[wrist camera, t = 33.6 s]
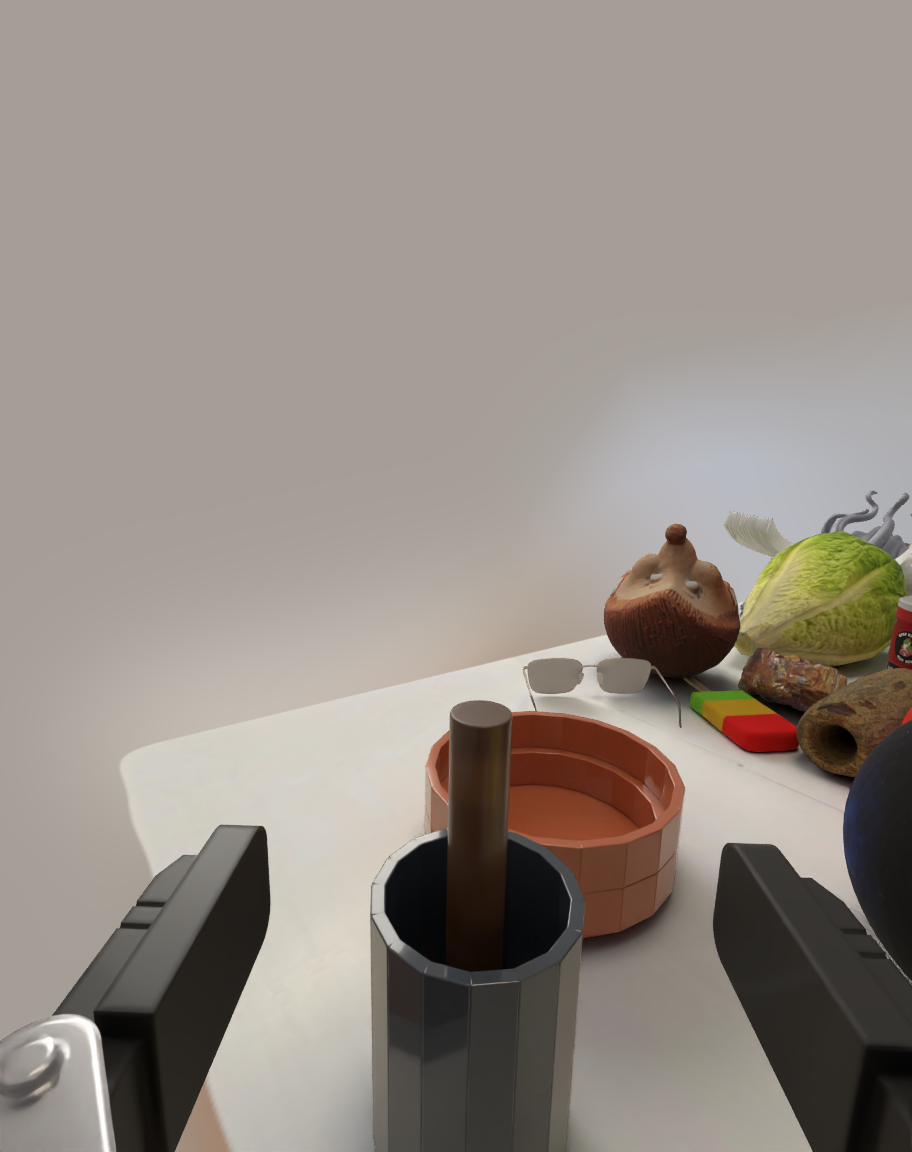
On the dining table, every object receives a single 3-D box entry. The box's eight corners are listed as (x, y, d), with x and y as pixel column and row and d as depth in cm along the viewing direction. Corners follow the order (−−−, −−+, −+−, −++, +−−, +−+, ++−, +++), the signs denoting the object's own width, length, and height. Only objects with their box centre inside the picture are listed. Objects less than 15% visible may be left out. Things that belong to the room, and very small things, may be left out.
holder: (609, 1167, 21) (631, 926, 19) (426, 1302, 18) (429, 1027, 15) (498, 1003, 27) (506, 807, 25) (347, 1079, 24) (341, 861, 22)
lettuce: (810, 723, 64) (698, 682, 79) (946, 632, 73) (822, 610, 87) (789, 597, 61) (675, 579, 75) (934, 516, 69) (806, 514, 83)
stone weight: (983, 713, 49) (921, 755, 54) (910, 649, 54) (857, 692, 58) (891, 759, 42) (828, 803, 46) (815, 681, 46) (763, 728, 50)
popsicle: (746, 755, 50) (748, 734, 50) (662, 686, 65) (663, 669, 64) (805, 752, 51) (808, 731, 50) (709, 684, 65) (711, 668, 65)
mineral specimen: (698, 668, 62) (729, 619, 64) (728, 710, 65) (756, 663, 67) (816, 697, 52) (848, 638, 54) (844, 746, 55) (874, 688, 57)
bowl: (730, 888, 35) (743, 796, 33) (515, 999, 27) (520, 886, 26) (564, 766, 48) (568, 696, 46) (388, 819, 40) (387, 739, 39)
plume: (709, 600, 91) (726, 512, 87) (723, 585, 98) (740, 503, 93) (1006, 672, 72) (1048, 563, 67) (999, 648, 79) (1037, 547, 74)
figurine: (747, 552, 69) (760, 523, 56) (730, 687, 68) (739, 692, 54) (621, 540, 75) (605, 511, 61) (603, 664, 74) (582, 664, 60)
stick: (518, 1077, 23) (538, 698, 20) (503, 1170, 20) (523, 743, 17) (440, 1055, 24) (446, 687, 21) (415, 1141, 21) (417, 727, 18)
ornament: (952, 621, 91) (978, 494, 87) (903, 644, 80) (930, 498, 76) (827, 597, 105) (845, 486, 101) (771, 613, 94) (787, 489, 90)
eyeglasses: (652, 692, 62) (657, 657, 61) (684, 734, 54) (690, 695, 53) (520, 693, 61) (522, 657, 60) (533, 735, 54) (536, 696, 52)
